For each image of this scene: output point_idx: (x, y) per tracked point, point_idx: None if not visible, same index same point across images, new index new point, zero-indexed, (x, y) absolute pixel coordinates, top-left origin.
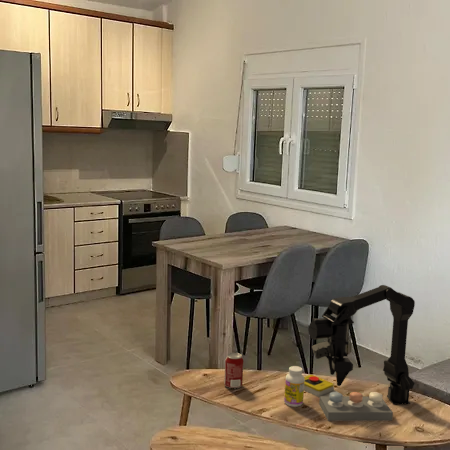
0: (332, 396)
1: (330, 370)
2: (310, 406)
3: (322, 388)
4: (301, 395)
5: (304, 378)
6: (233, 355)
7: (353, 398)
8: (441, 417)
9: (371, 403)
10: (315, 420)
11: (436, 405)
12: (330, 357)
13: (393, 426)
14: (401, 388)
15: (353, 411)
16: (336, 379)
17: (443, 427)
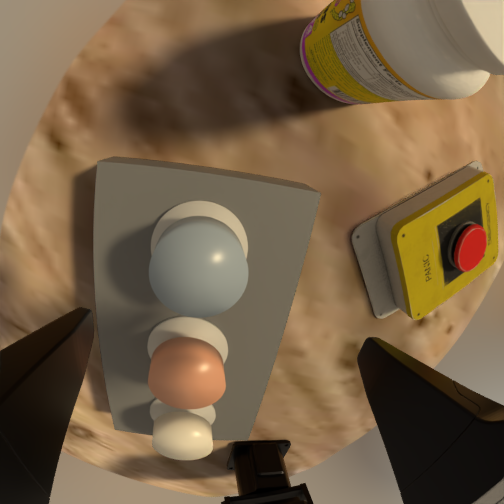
0: (171, 236)
1: (390, 358)
2: (292, 125)
3: (402, 254)
4: (326, 61)
5: (489, 214)
6: None
7: (158, 358)
8: (152, 481)
9: None
10: (129, 90)
11: (214, 491)
12: (484, 458)
13: (81, 391)
14: (226, 499)
15: (105, 307)
16: (53, 340)
17: (101, 466)
